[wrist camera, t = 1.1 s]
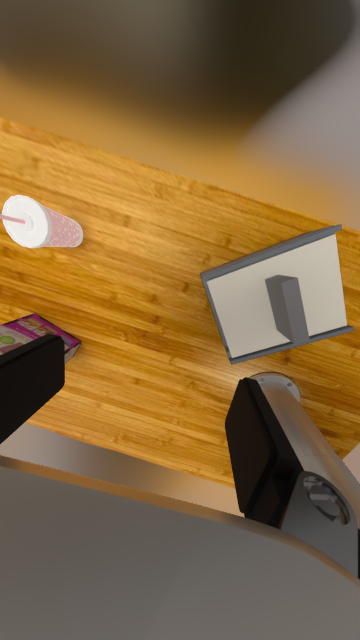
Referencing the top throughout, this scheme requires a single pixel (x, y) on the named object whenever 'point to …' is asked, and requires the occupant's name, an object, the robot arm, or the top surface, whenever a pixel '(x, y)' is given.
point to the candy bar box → (33, 334)
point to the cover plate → (255, 304)
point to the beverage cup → (39, 224)
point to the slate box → (261, 256)
